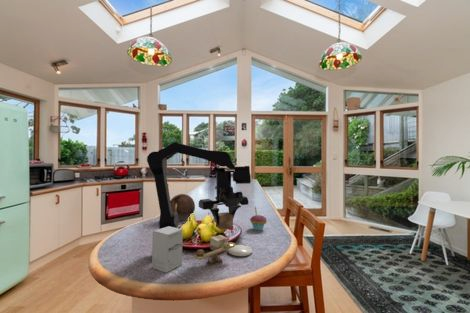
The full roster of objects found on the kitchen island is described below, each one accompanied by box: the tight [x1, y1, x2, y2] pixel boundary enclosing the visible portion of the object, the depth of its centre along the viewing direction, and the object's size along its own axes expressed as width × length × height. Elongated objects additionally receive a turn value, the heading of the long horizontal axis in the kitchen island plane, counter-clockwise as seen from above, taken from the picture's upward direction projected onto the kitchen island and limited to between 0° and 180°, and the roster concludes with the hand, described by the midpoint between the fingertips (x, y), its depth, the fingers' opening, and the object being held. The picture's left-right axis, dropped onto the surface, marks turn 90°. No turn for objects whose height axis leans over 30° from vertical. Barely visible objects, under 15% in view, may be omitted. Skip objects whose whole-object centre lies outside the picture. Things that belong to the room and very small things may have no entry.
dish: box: [227, 244, 253, 257], centre depth 99 cm, size 10×10×1 cm
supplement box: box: [151, 226, 184, 273], centre depth 86 cm, size 7×7×13 cm
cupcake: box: [249, 206, 268, 231], centre depth 131 cm, size 9×8×12 cm
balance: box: [193, 241, 236, 266], centre depth 90 cm, size 16×4×6 cm, turn 118°
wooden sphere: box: [170, 193, 196, 221], centre depth 146 cm, size 15×15×15 cm
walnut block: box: [215, 211, 234, 231], centre depth 97 cm, size 5×5×5 cm
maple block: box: [209, 234, 229, 254], centre depth 102 cm, size 5×5×5 cm
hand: (224, 224), depth 97 cm, fingers closed on walnut block, 5 cm apart
